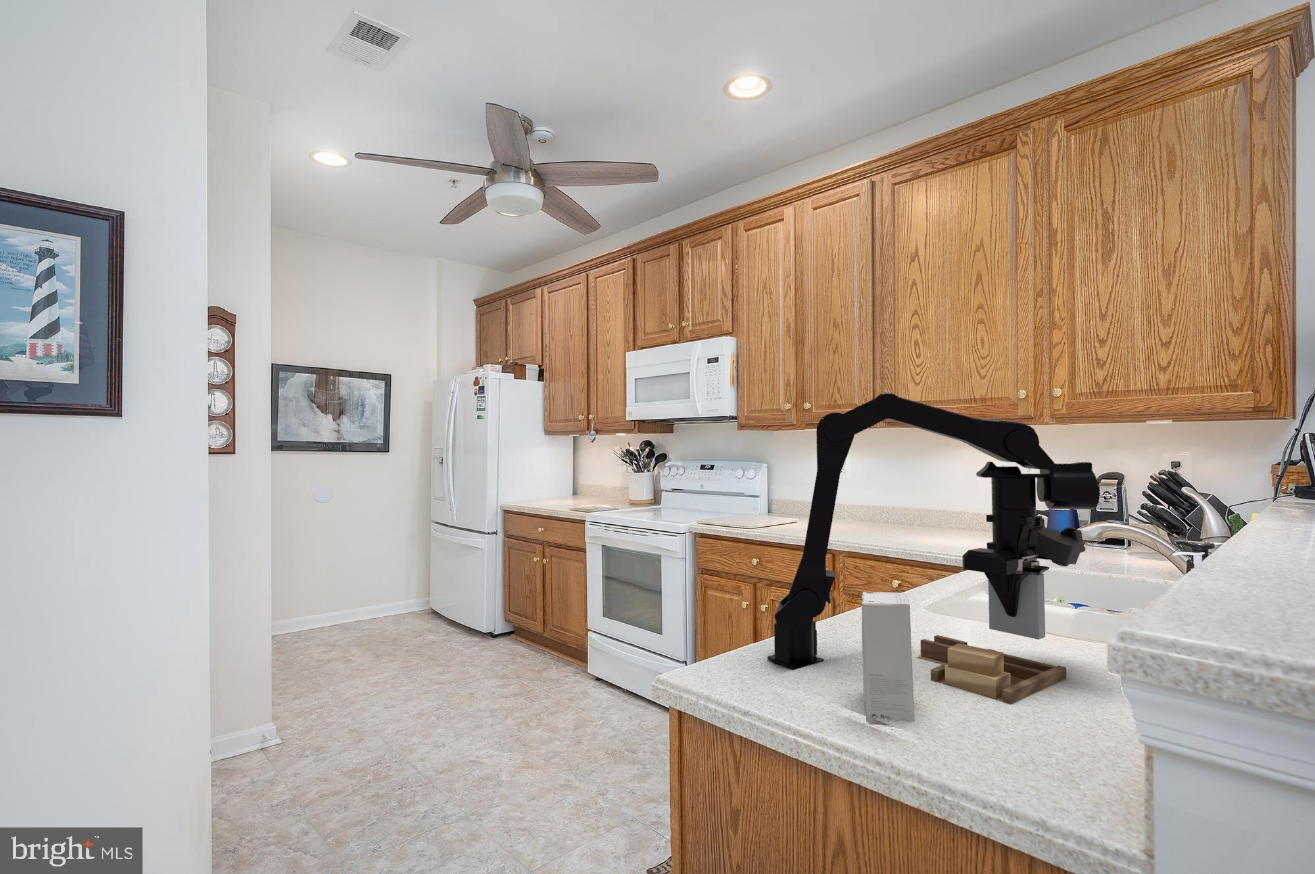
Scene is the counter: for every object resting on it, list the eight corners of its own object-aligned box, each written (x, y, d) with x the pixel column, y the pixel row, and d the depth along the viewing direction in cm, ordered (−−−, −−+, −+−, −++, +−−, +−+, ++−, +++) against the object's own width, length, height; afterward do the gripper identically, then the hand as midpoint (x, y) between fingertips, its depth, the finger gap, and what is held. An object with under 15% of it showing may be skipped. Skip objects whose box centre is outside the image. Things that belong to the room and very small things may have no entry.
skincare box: (915, 730, 78) (913, 605, 78) (862, 723, 79) (861, 601, 80) (910, 704, 86) (909, 590, 86) (862, 698, 87) (861, 588, 88)
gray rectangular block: (1038, 639, 92) (1037, 575, 92) (989, 628, 97) (988, 568, 97) (1045, 637, 93) (1043, 573, 93) (995, 626, 98) (994, 567, 99)
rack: (1010, 711, 83) (1010, 691, 83) (931, 686, 92) (930, 668, 92) (1066, 685, 92) (1066, 667, 92) (989, 664, 101) (988, 648, 101)
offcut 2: (995, 698, 85) (995, 679, 85) (945, 683, 90) (944, 665, 90) (1010, 691, 87) (1010, 673, 87) (960, 677, 93) (960, 659, 93)
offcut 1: (994, 677, 85) (993, 658, 85) (947, 666, 90) (947, 648, 90) (1003, 670, 88) (1003, 652, 88) (958, 660, 92) (958, 643, 92)
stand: (946, 672, 98) (946, 648, 98) (916, 663, 102) (916, 641, 102) (971, 663, 102) (971, 640, 102) (941, 655, 106) (941, 633, 106)
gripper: (1042, 516, 83) (1045, 638, 83) (1102, 508, 94) (1104, 616, 94) (959, 510, 92) (961, 620, 92) (1022, 504, 103) (1024, 602, 103)
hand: (1015, 615), depth 95 cm, fingers closed on gray rectangular block, 2 cm apart
